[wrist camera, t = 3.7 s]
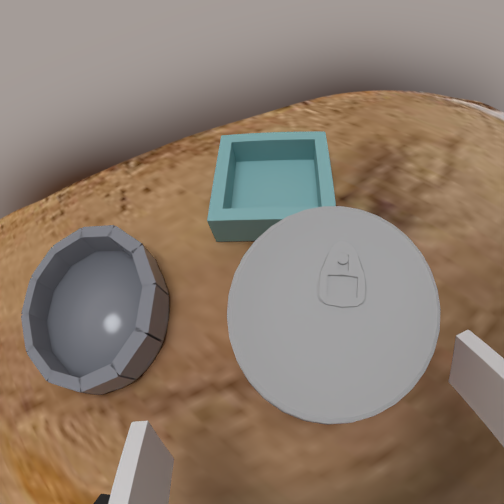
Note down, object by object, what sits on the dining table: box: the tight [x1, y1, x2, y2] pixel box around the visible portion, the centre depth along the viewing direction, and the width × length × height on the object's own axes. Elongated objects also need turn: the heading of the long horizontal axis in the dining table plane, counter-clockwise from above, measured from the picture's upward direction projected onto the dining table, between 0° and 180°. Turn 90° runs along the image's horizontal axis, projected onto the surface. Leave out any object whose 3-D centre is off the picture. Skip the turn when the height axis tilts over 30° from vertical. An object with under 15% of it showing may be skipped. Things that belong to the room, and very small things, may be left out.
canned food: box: [227, 206, 440, 424], centre depth 15 cm, size 8×8×11 cm
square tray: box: [207, 132, 336, 242], centre depth 24 cm, size 9×9×3 cm
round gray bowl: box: [21, 225, 169, 395], centre depth 21 cm, size 13×13×3 cm
